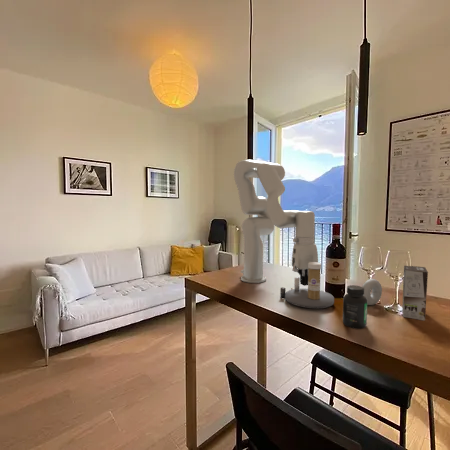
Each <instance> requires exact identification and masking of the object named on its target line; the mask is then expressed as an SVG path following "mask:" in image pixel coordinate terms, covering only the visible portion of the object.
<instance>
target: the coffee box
mask: <svg viewBox="0 0 450 450" xmlns="http://www.w3.org/2000/svg"><path fill="white" fill-rule="evenodd" d="M428 274H429V272H428V270H427V269H426V267H425V266H415V265H411V266H410V265H403V279H402V280H403V282H402V283H403V285H402V305H401V306H402V317H403V318H409V319H413V320H419V321H426V311H427V310H426V309H427V294H428V293H427V292H428V290H427V289H428V276H429V275H428Z"/></svg>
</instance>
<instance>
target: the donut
mask: <svg viewBox="0 0 450 450" xmlns="http://www.w3.org/2000/svg"><path fill="white" fill-rule="evenodd" d="M361 287H363V288H364V295H363V296H365V297H366V298H367V306H374V305H375V304H377V303H378V302H379V301H380V299H381V297H382V295H383V288H382V284H381V282H380V281H379V280H377V279H375V278H370V279H369V278H368V279H367V280H366V281H365V282H364V283H363V284H362V286H361Z"/></svg>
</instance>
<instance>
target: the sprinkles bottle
mask: <svg viewBox="0 0 450 450" xmlns="http://www.w3.org/2000/svg"><path fill="white" fill-rule="evenodd" d="M308 269H309V272H308V285H307V289H308V298H310V299H313V300H318V299H320V291H321V270H322V263H320V262H319V261H318V262H309V263H308Z"/></svg>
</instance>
